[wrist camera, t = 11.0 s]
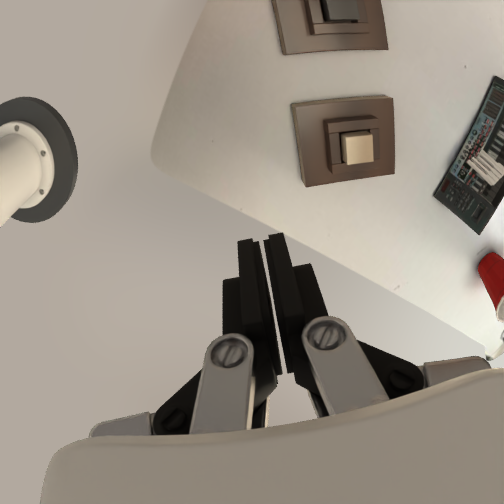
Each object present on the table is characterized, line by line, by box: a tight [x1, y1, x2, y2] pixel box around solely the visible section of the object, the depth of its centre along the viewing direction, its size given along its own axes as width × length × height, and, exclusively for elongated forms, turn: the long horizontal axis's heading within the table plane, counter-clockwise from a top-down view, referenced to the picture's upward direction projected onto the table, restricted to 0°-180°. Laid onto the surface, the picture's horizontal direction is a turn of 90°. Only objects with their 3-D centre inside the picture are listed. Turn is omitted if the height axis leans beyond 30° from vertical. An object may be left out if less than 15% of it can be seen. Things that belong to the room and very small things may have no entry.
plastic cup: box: [478, 252, 504, 322], centre depth 45 cm, size 11×11×12 cm
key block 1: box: [272, 0, 388, 55], centre depth 24 cm, size 12×10×4 cm
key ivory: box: [341, 131, 373, 165], centre depth 32 cm, size 3×3×2 cm
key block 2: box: [291, 95, 395, 187], centre depth 34 cm, size 12×10×4 cm
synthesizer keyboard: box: [434, 76, 504, 235], centre depth 32 cm, size 22×10×10 cm
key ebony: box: [321, 0, 360, 21], centre depth 22 cm, size 3×3×2 cm
